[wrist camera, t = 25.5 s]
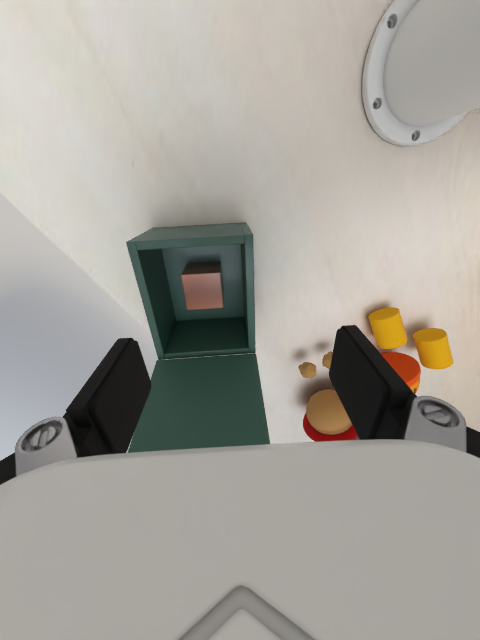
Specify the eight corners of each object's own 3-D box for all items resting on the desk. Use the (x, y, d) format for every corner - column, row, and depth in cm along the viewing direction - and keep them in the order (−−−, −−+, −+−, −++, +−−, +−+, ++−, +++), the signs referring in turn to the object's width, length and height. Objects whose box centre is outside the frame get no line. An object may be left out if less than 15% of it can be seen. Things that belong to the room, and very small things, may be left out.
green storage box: (152, 227, 29) (125, 242, 21) (246, 222, 29) (252, 234, 22) (172, 323, 36) (158, 360, 28) (249, 318, 36) (255, 353, 28)
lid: (107, 517, 16) (132, 538, 19) (279, 503, 16) (275, 526, 19) (156, 360, 27) (166, 389, 31) (255, 353, 28) (255, 382, 31)
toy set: (268, 343, 43) (304, 426, 47) (275, 373, 32) (321, 475, 37) (407, 287, 39) (432, 382, 44) (465, 299, 29) (490, 422, 34)
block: (186, 263, 31) (180, 274, 27) (220, 261, 31) (220, 272, 27) (191, 295, 33) (186, 310, 29) (223, 293, 33) (223, 307, 29)
